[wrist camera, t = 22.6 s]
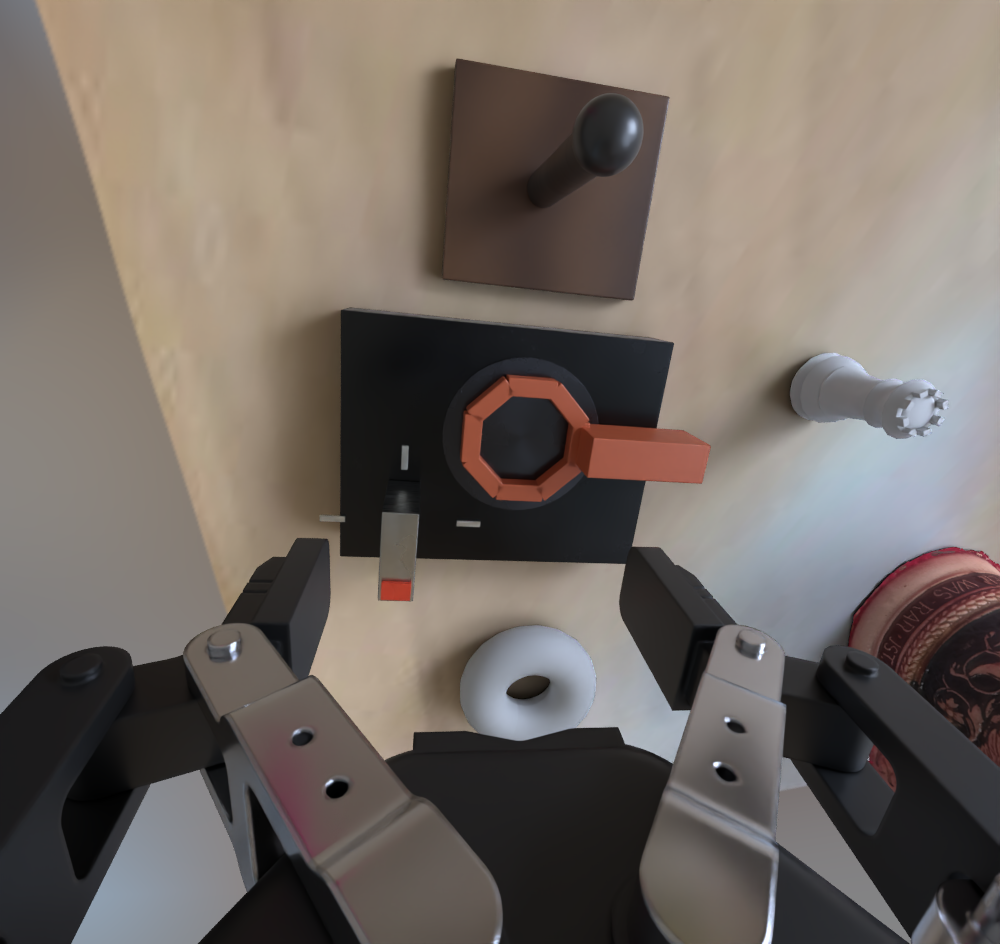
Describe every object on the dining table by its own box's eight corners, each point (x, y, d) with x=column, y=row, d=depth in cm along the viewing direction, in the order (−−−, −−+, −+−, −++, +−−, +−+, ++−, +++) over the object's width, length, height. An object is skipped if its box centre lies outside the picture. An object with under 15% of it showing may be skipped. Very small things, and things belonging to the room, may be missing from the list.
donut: (601, 618, 38) (468, 610, 36) (618, 649, 35) (474, 642, 33) (572, 724, 42) (448, 722, 40) (585, 761, 38) (451, 760, 36)
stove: (652, 337, 32) (675, 343, 29) (607, 569, 37) (623, 593, 34) (328, 305, 29) (317, 307, 26) (329, 562, 34) (320, 588, 31)
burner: (610, 364, 29) (610, 364, 29) (584, 512, 32) (585, 513, 32) (448, 349, 27) (448, 350, 27) (437, 506, 30) (437, 506, 30)
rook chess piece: (861, 375, 34) (982, 400, 27) (815, 431, 35) (919, 469, 28) (818, 337, 33) (932, 352, 26) (771, 396, 34) (869, 427, 27)
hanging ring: (456, 491, 30) (460, 514, 27) (466, 370, 28) (472, 381, 25) (667, 501, 32) (692, 523, 29) (692, 389, 30) (722, 401, 27)
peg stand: (662, 102, 27) (833, -31, 16) (627, 300, 31) (749, 308, 19) (455, 65, 26) (478, -115, 14) (441, 279, 29) (451, 274, 17)
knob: (388, 479, 29) (381, 514, 25) (420, 481, 30) (419, 516, 25) (384, 558, 31) (377, 603, 26) (414, 559, 31) (412, 604, 27)
